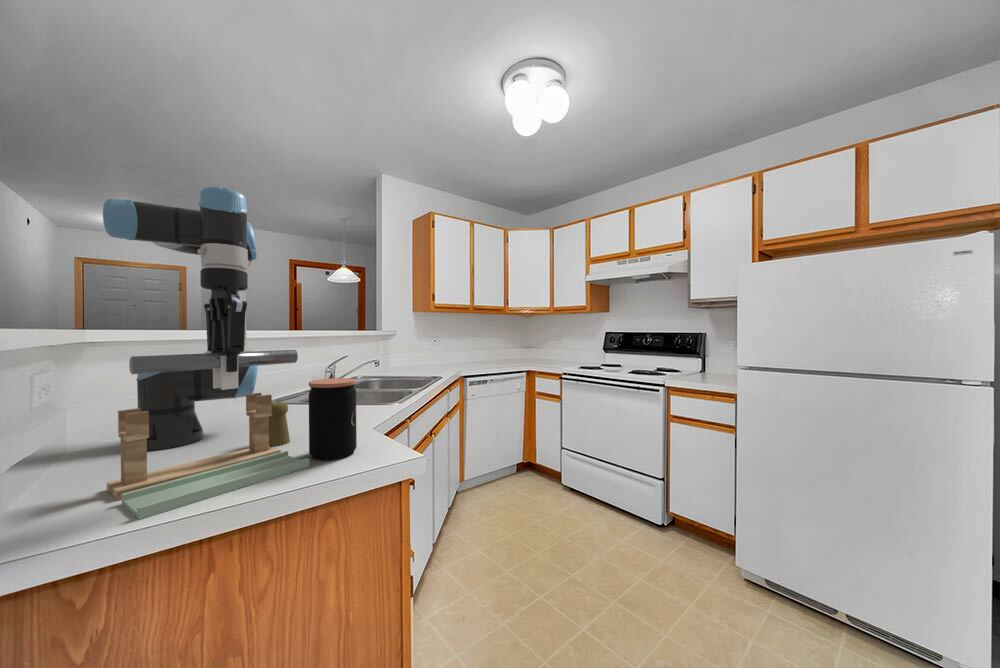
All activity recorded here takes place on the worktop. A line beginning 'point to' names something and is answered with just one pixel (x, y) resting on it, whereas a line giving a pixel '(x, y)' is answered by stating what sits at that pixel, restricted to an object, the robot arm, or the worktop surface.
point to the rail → (206, 361)
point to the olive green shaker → (278, 425)
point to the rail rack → (135, 463)
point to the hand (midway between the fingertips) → (225, 387)
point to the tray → (208, 484)
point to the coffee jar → (332, 418)
